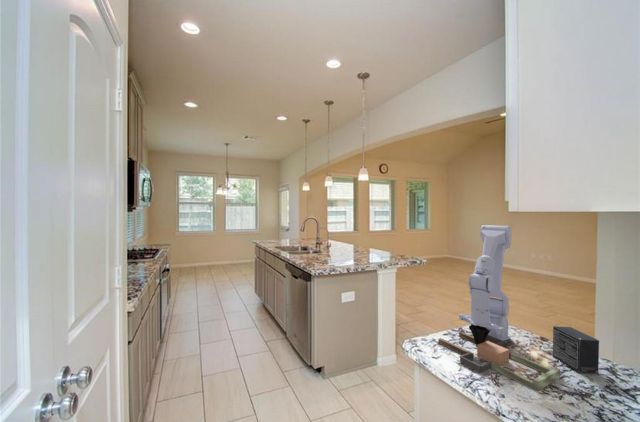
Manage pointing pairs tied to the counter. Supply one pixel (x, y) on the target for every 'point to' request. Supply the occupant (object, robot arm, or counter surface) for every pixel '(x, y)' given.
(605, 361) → the counter surface
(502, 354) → the block
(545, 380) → the lane
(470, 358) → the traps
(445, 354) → the counter surface
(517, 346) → the counter surface
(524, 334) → the counter surface
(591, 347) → the small box
